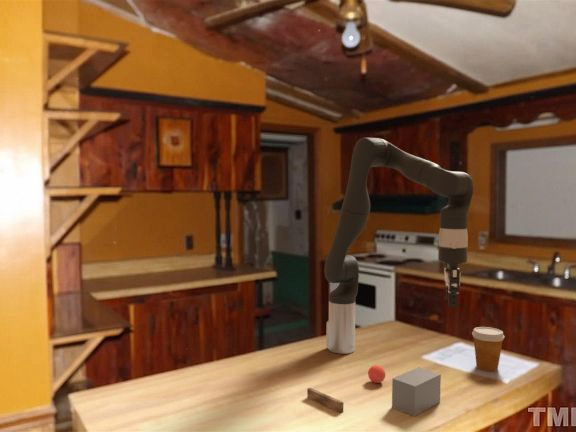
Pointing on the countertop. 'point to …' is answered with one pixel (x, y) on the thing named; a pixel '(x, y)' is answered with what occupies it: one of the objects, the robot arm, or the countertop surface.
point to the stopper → (325, 400)
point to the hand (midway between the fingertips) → (451, 303)
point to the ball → (376, 374)
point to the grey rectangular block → (416, 391)
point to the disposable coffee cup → (487, 347)
